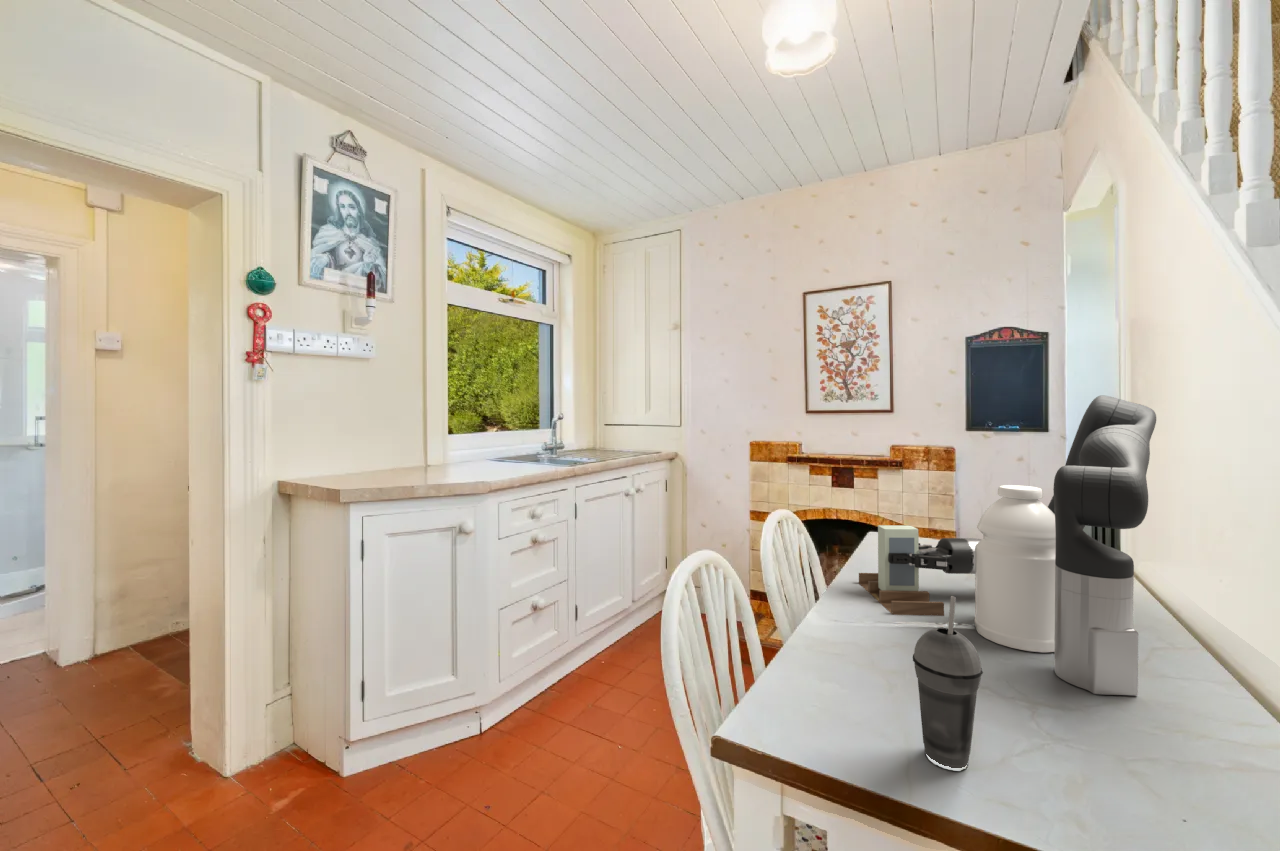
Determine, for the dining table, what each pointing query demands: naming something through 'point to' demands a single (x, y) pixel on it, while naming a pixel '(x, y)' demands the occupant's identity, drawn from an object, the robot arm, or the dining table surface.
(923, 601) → the stand
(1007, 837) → the dining table surface
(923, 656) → the beverage cup
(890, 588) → the beige box
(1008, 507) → the bottle
